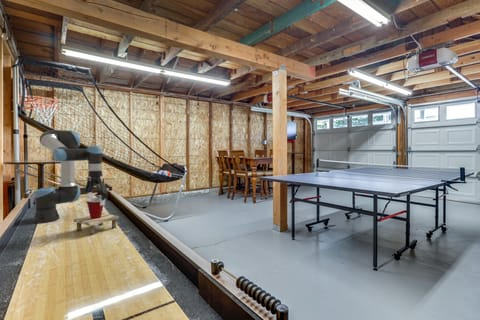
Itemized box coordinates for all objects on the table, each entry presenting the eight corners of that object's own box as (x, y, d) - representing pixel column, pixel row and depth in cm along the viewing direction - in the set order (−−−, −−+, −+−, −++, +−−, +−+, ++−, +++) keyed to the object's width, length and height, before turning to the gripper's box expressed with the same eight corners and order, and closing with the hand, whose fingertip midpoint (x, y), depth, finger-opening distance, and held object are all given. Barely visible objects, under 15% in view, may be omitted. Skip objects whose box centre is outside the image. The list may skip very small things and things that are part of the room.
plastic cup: (99, 220, 153) (99, 200, 152) (82, 220, 153) (81, 200, 153) (109, 215, 164) (108, 197, 163) (93, 215, 164) (92, 197, 163)
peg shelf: (74, 231, 155) (73, 219, 155) (102, 223, 171) (102, 212, 171) (90, 236, 146) (90, 223, 146) (118, 227, 162) (118, 216, 162)
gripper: (78, 169, 160) (79, 202, 161) (101, 171, 148) (102, 207, 149) (90, 169, 167) (90, 200, 168) (113, 170, 154) (113, 204, 155)
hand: (96, 203), depth 158 cm, fingers open, 13 cm apart
